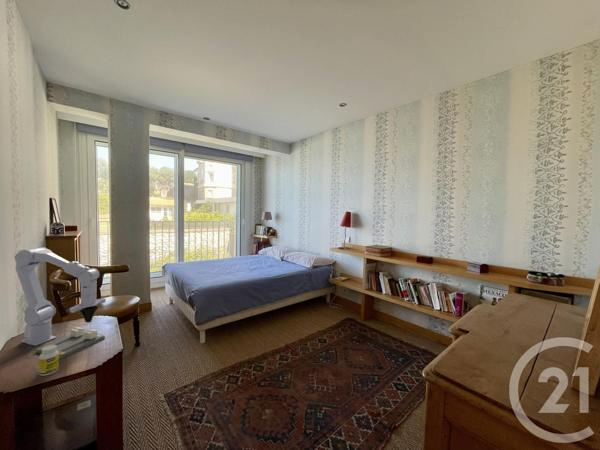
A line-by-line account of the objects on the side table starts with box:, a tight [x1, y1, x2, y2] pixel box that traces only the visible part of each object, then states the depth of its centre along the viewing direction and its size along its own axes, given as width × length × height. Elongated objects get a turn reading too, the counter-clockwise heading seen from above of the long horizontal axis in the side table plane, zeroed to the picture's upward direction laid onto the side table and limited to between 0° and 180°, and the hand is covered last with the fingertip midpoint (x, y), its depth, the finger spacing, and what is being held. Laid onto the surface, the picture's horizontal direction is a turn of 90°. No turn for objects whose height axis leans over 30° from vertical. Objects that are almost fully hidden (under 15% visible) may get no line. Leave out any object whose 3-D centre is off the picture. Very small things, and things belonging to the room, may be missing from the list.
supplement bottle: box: [38, 345, 60, 377], centre depth 95 cm, size 5×5×10 cm
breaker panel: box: [35, 330, 105, 360], centre depth 114 cm, size 15×18×2 cm
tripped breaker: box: [84, 329, 98, 340], centre depth 118 cm, size 4×3×3 cm
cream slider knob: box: [69, 326, 85, 337], centre depth 119 cm, size 4×3×3 cm
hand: (88, 321), depth 119 cm, fingers closed
